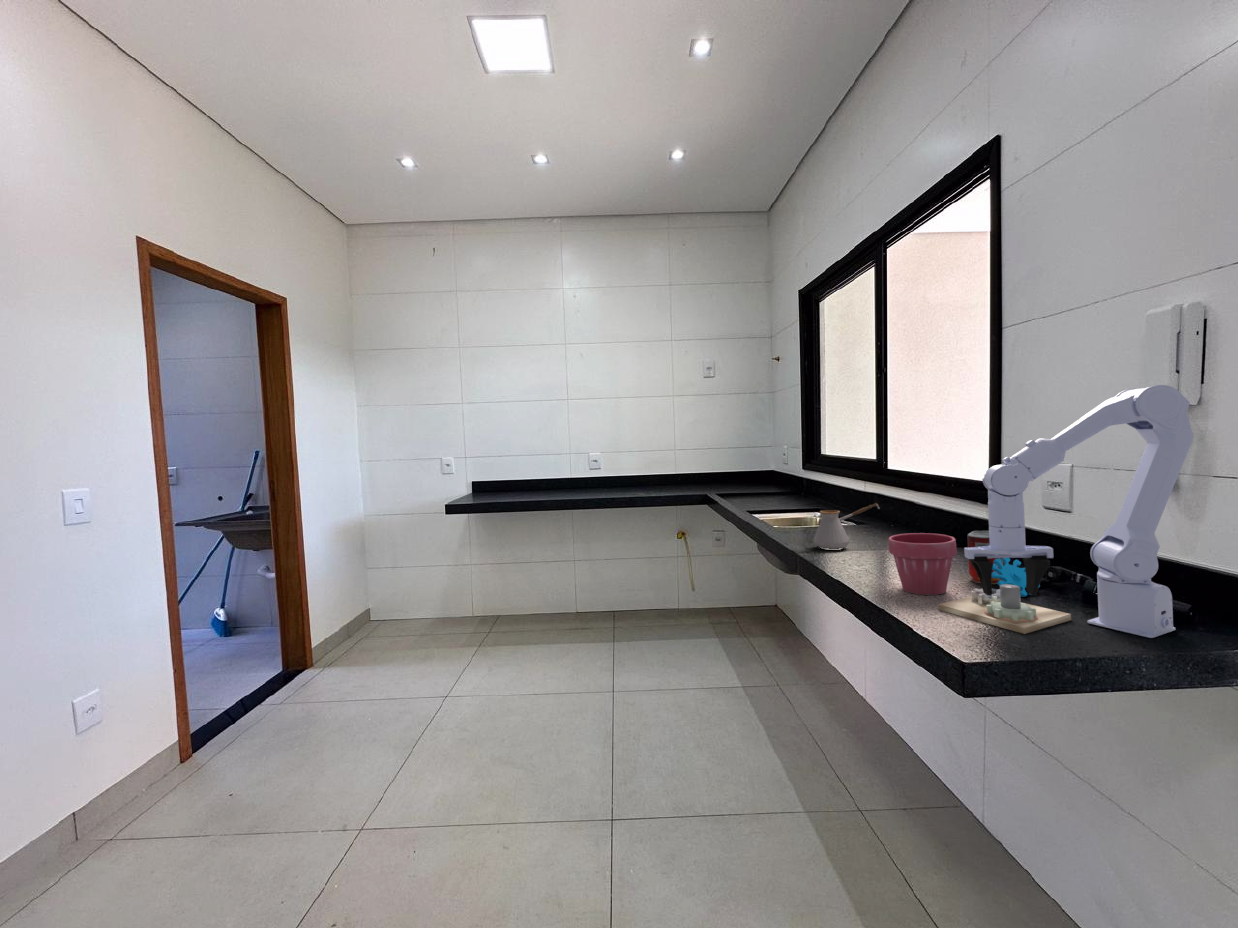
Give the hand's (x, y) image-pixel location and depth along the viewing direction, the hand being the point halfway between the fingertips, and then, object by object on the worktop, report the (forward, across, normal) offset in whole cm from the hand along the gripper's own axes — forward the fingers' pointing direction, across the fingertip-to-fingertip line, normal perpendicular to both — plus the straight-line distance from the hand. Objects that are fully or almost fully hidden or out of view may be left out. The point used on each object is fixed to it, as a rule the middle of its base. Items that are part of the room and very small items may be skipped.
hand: (1009, 594), depth 104 cm
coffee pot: (+6, -18, +72) cm, 74 cm away
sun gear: (+4, 0, +9) cm, 10 cm away
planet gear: (+4, 0, 0) cm, 4 cm away
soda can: (+6, +7, +30) cm, 31 cm away
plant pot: (+6, -9, +22) cm, 24 cm away
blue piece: (+6, +10, +20) cm, 23 cm away
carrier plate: (+5, 0, +4) cm, 6 cm away
